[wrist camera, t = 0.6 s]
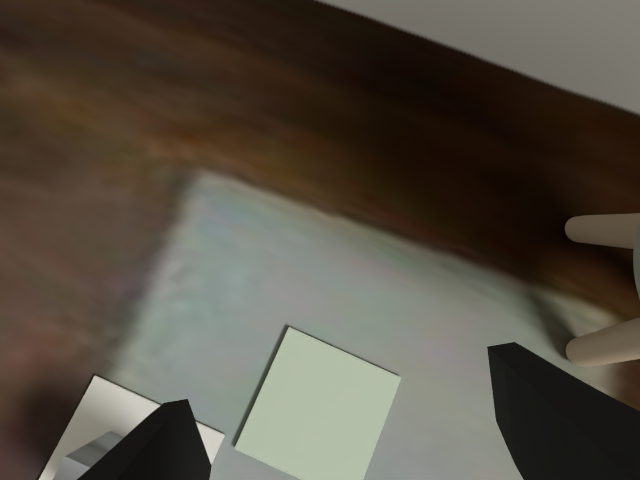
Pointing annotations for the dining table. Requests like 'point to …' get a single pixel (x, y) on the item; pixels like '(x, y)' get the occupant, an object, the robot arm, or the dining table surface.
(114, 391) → the tile
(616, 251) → the dining table surface
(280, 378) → the sage mat
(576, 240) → the planter
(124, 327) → the dining table surface
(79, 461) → the grey block
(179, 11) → the dining table surface
